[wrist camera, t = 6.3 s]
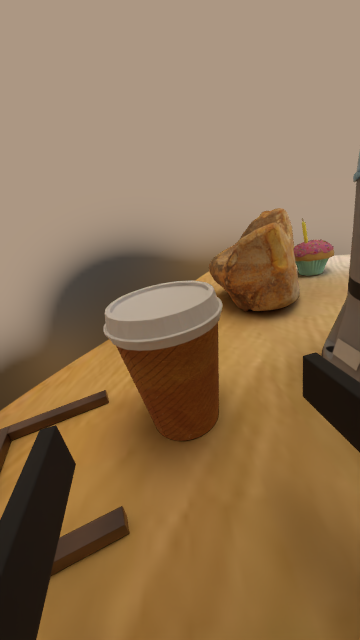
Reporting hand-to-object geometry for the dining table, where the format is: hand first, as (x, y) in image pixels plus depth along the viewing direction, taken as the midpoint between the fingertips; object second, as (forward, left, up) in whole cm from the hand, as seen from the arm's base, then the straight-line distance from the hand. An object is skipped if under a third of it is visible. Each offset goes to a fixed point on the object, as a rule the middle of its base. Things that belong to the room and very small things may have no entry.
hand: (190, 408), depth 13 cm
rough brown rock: (-26, -31, -8) cm, 41 cm away
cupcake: (-43, -33, -8) cm, 54 cm away
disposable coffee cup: (-2, -8, -8) cm, 12 cm away
